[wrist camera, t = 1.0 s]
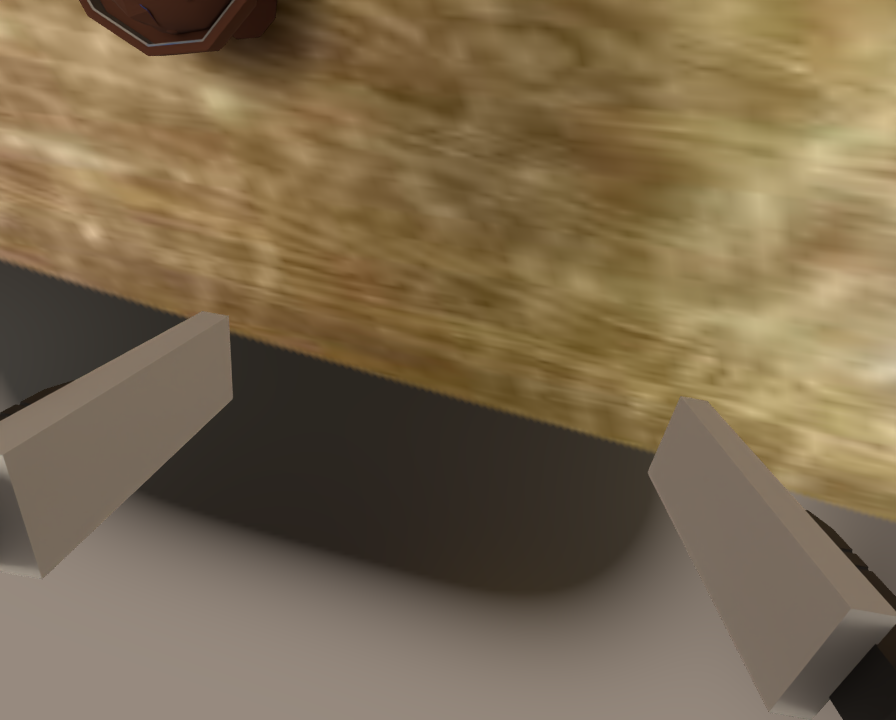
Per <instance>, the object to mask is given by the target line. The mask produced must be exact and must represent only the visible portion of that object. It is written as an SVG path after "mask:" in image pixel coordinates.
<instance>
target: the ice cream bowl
mask: <svg viewBox="0 0 896 720" xmlns="http://www.w3.org/2000/svg"><path fill="white" fill-rule="evenodd" d="M79 1H80V3H81V5H82V6H83V8H84V10H85V12H86V13H87V15H88V16H89V17H90V18H92V19H93V20H95V21H96V22H98V23H99V24H101V25H102V26H104V27H105V28H107V29H108V30H110V31H111V32H113V33H114V34H116V35H117V36H119V37H120V38H122V39H123V40H125V41H126V42H128V43H129V44H131V45H132V46H134V47H136V48H137V49H139V50H140V51H142V52H143V53H145V54H146V55H148V56H167V55H178V54H189V53H200V52H211V51H219V50H220V49H221V48H222V47H223V46H224V45H225V44H226V43H227V42H228V40H229V39H230V38H231V37H232V36H233V37H234V38H236V39H244V38H255V37H260V36H261V35H262V34H263V33H264V31H265V30H266V29H267V28H268V27H269V25H270V24H271V23H272V22H273V20H274V19H275V18H276V6H277V0H79Z"/></svg>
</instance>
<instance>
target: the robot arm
mask: <svg viewBox="0 0 896 720" xmlns="http://www.w3.org/2000/svg"><path fill="white" fill-rule="evenodd" d="M232 399H233V393H232V374H231V355H230V334H229V316H226V315H220V314H215V313H209V312H204V311H202V312H200V313H198V314H197V315H195V316H193V317H191V318H189V319H187V320H186V321H184V322H182V323H180V324H178V325H176V326H175V327H173V328H171V329H169V330H167V331H165V332H163V333H162V334H160V335H158V336H156V337H154V338H152V339H151V340H149V341H147V342H145V343H143V344H141V345H140V346H138V347H136V348H134V349H132V350H130V351H128V352H127V353H125V354H123V355H121V356H119V357H118V358H116V359H114V360H112V361H110V362H108V363H106V364H104V365H103V366H101V367H99V368H97V369H95V370H93V371H92V372H90V373H88V374H86V375H84V376H82V377H81V378H79V379H77V380H73V381H70V382H67V383H63V384H60V385H57V386H54V387H51V388H47V389H44V390H42V391H40V392H39V393H37V394H35V395H33V396H31V397H29V398H27V399H25V400H23V401H21V403H20V405H14V406H12V407H10V408H8V409H6V410H5V411H3V412H1V413H0V572H5V573H10V574H15V575H21V576H26V577H32V578H38V579H43V578H44V577H45V576H46V575H47V574H48V573H49V572H50V571H52V570H53V569H54V568H55V567H56V566H57V565H58V564H59V563H60V562H61V561H62V560H63V559H64V558H65V557H66V556H67V555H68V554H69V553H71V551H73V550H74V549H75V548H76V547H77V546H78V545H79V544H80V543H81V542H82V541H83V540H84V539H85V538H86V537H87V536H88V535H90V534H91V533H92V532H93V531H94V530H95V529H96V528H97V527H98V526H99V525H100V524H101V523H102V522H103V521H104V520H105V519H106V518H107V517H108V516H110V515H111V514H112V513H113V512H114V511H115V510H116V509H117V508H118V507H119V506H120V505H121V504H122V503H123V502H124V501H125V500H126V499H127V498H128V497H129V496H131V495H132V494H133V493H134V492H135V491H136V490H137V489H138V488H139V487H140V486H141V485H142V484H143V483H144V482H145V481H146V480H147V479H148V478H149V477H151V476H152V475H153V474H154V473H155V472H156V471H157V470H158V469H159V468H160V467H161V466H162V465H163V464H164V463H165V462H166V461H167V460H169V459H170V458H171V457H172V456H173V454H175V453H176V452H177V451H178V450H179V449H180V448H181V447H182V446H183V445H184V444H185V443H186V442H187V441H188V440H190V439H191V438H192V437H193V436H194V435H195V434H196V433H197V432H198V431H199V430H200V429H201V428H202V427H203V426H204V425H205V424H206V423H207V422H209V420H211V419H212V417H214V416H215V415H216V414H217V413H218V412H219V411H220V410H221V409H222V408H223V407H224V406H225V405H226V404H227V403H228V402H230V401H231V400H232ZM648 475H649V477H650V479H651V481H652V482H653V484H654V486H655V488H656V490H657V492H658V494H659V496H660V498H661V500H662V502H663V504H664V506H665V508H666V510H667V512H668V514H669V516H670V518H671V520H672V522H673V524H674V526H675V528H676V530H677V532H678V534H679V536H680V538H681V540H682V542H683V544H684V546H685V548H686V550H687V552H688V554H689V556H690V558H691V560H692V561H693V564H694V566H695V567H696V570H697V572H698V574H699V576H700V578H701V579H702V581H703V583H704V585H705V587H706V589H707V591H708V593H709V595H710V597H711V599H712V601H713V603H714V605H715V607H716V609H717V611H718V613H719V615H720V617H721V619H722V621H723V623H724V625H725V627H726V629H727V631H728V633H729V635H730V637H731V639H732V641H733V643H734V645H735V647H736V649H737V651H738V653H739V654H740V657H741V659H742V660H743V663H744V665H745V666H746V669H747V670H748V672H749V674H750V676H751V678H752V680H753V682H754V684H755V686H756V688H757V690H758V692H759V694H760V696H761V698H762V700H763V702H764V704H765V706H766V708H767V710H768V712H770V713H775V714H781V715H786V716H792V717H798V718H803V719H809V720H812V719H813V718H814V717H815V716H816V714H817V713H818V712H819V711H820V710H821V709H822V708H823V706H824V705H825V704H826V703H827V702H828V701H829V700H831V701H832V703H833V705H834V706H835V708H836V709H837V711H838V713H839V714H840V716H841V717H842V719H843V720H896V596H895V595H894V594H893V593H892V592H891V591H890V590H889V589H888V588H887V587H886V586H885V585H884V583H883V582H882V581H881V580H880V579H879V578H878V577H877V576H876V575H875V574H874V573H873V572H872V571H869V570H868V566H867V565H866V564H865V563H864V562H863V561H862V560H861V559H860V558H859V557H858V555H857V554H853V553H852V549H851V548H850V547H849V546H848V545H847V544H846V542H844V540H843V539H842V538H841V537H840V536H839V535H838V534H837V533H836V532H835V531H834V530H833V529H832V528H831V527H829V526H828V525H827V524H826V523H824V522H823V521H822V520H820V519H819V518H818V517H816V516H815V515H814V514H812V513H811V512H809V511H808V510H805V509H804V508H803V507H802V506H801V505H800V504H799V503H798V502H797V501H796V499H795V498H794V497H793V496H792V495H791V494H790V493H789V492H788V491H787V489H786V488H785V487H784V486H783V485H782V484H781V483H780V482H779V481H778V479H777V478H776V477H775V476H774V475H773V474H772V473H771V472H770V470H769V469H768V468H767V467H766V466H765V465H764V464H763V463H762V462H761V460H760V459H759V458H758V457H757V456H756V455H755V454H754V453H753V452H752V450H751V449H750V448H749V447H748V446H747V445H746V444H745V443H744V442H743V440H742V439H741V438H740V437H739V436H738V435H737V434H736V433H735V431H734V430H733V429H732V428H731V427H730V426H729V425H728V424H727V423H726V421H725V420H724V419H723V418H722V417H721V416H720V415H719V414H718V413H717V411H716V410H715V409H714V408H713V407H712V406H711V405H710V404H709V402H708V401H704V400H699V399H693V398H687V397H682V396H680V399H679V401H678V403H677V406H676V408H675V410H674V413H673V415H672V417H671V420H670V422H669V424H668V427H667V429H666V431H665V434H664V436H663V438H662V441H661V443H660V445H659V448H658V450H657V452H656V455H655V457H654V459H653V462H652V464H651V466H650V468H649V471H648Z"/></svg>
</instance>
